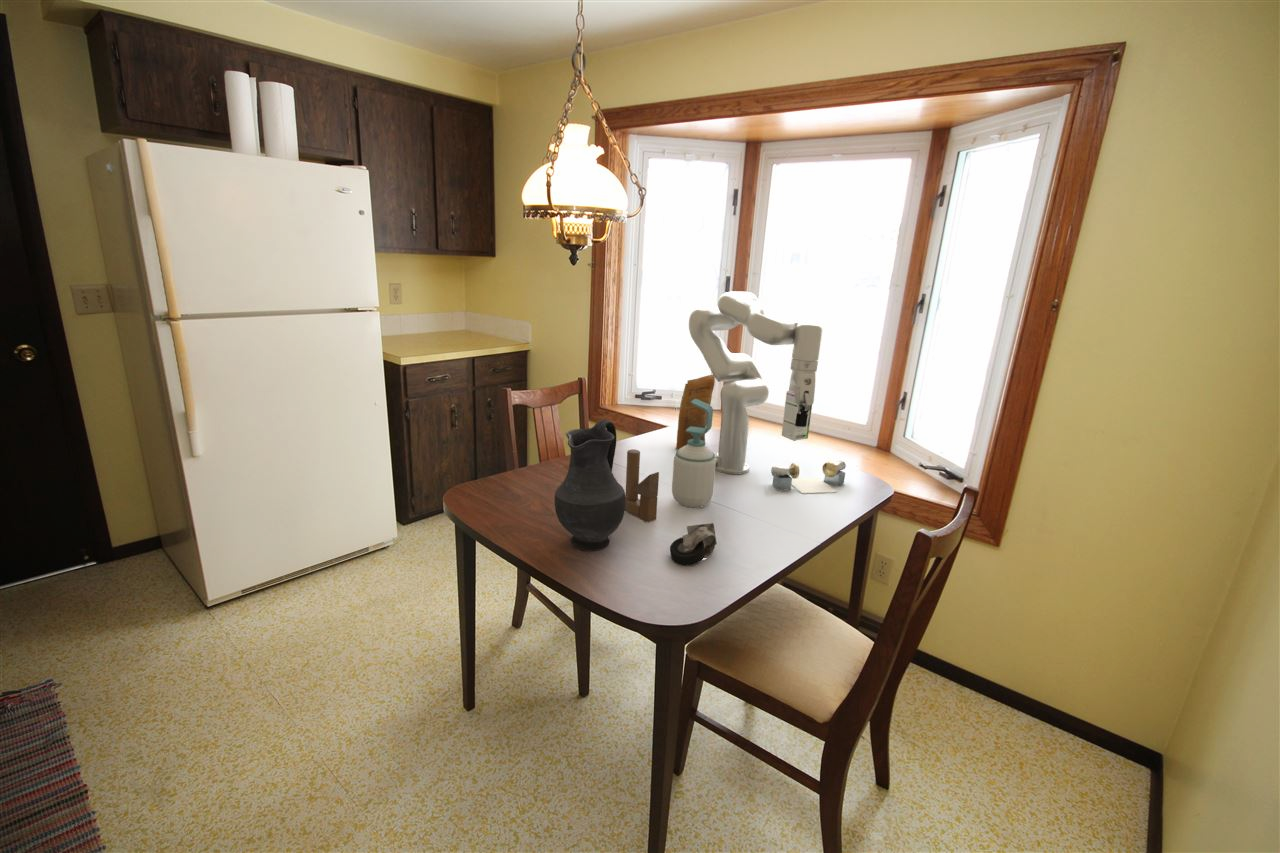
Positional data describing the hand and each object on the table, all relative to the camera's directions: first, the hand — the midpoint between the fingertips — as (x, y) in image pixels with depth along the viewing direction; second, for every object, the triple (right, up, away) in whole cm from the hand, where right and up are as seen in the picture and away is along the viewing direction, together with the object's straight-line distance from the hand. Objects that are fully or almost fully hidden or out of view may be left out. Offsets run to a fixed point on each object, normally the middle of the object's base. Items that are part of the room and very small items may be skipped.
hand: (796, 422), depth 169 cm
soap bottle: (-32, -24, -3) cm, 40 cm away
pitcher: (-60, -30, -28) cm, 72 cm away
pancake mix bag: (-27, -9, +48) cm, 56 cm away
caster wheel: (-35, -33, -34) cm, 59 cm away
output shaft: (+18, -20, +18) cm, 32 cm away
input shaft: (-1, -21, +12) cm, 24 cm away
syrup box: (0, -5, +1) cm, 5 cm away
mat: (+9, -21, +14) cm, 27 cm away
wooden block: (-48, -26, -13) cm, 56 cm away
